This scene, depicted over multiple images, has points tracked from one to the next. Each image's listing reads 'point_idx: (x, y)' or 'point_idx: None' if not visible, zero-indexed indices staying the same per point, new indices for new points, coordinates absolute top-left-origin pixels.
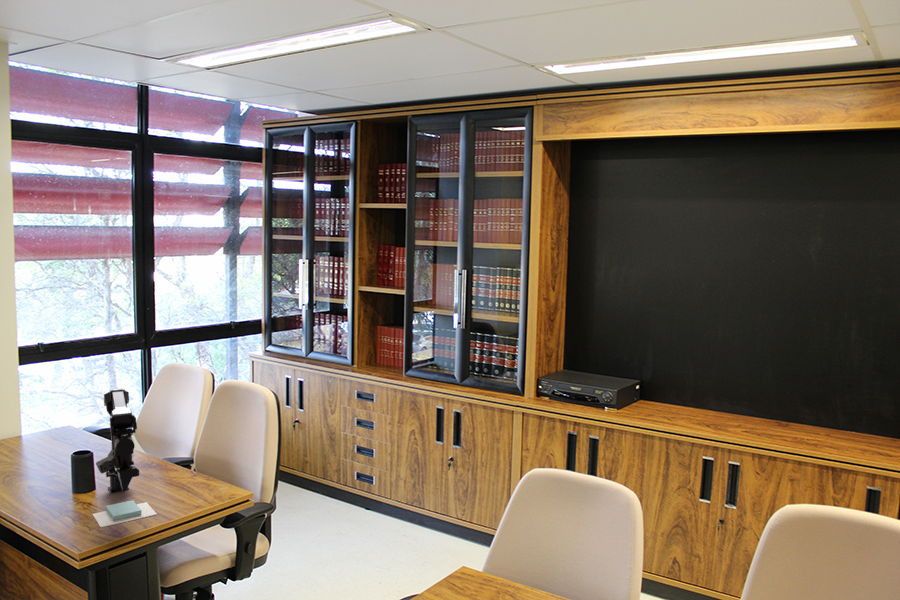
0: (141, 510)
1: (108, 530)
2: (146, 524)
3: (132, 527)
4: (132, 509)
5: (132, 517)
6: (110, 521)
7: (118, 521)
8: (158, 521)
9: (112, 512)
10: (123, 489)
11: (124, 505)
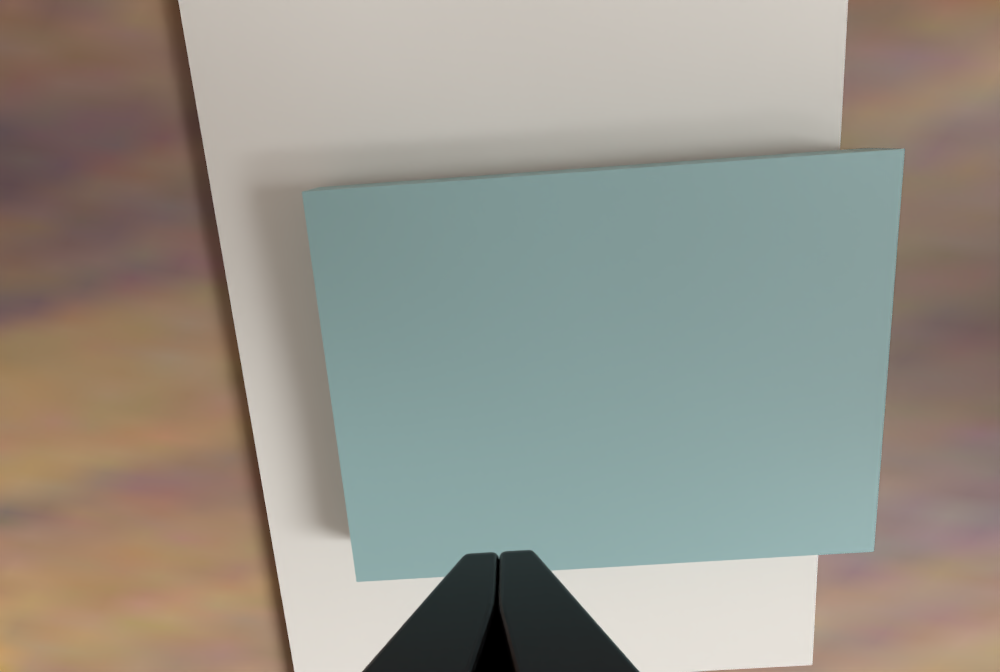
0: None
1: (49, 76)
2: (54, 536)
3: (23, 378)
4: (460, 485)
5: (334, 432)
6: (336, 143)
7: (273, 246)
8: (92, 661)
9: (500, 202)
10: (445, 594)
11: (715, 411)
